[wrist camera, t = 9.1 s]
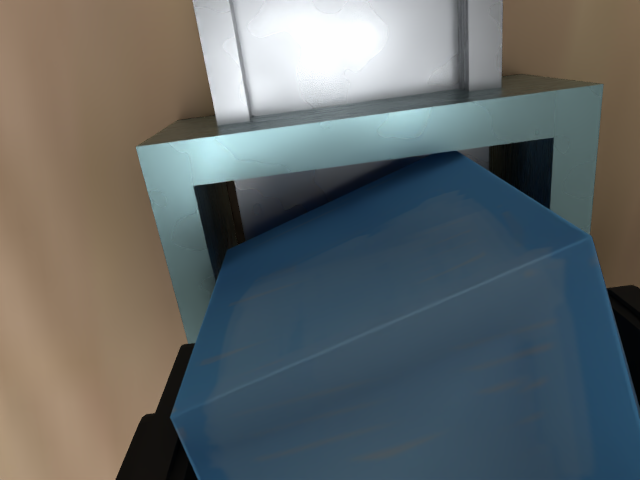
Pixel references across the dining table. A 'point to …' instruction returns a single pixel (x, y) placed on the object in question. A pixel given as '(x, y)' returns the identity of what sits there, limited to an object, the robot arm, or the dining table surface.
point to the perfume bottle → (412, 343)
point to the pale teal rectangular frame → (352, 120)
